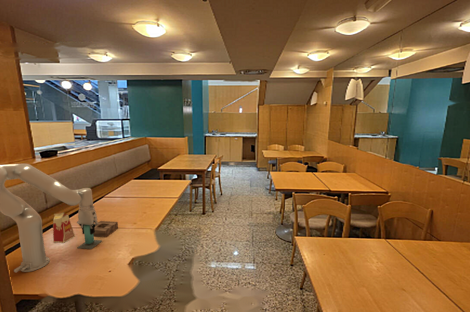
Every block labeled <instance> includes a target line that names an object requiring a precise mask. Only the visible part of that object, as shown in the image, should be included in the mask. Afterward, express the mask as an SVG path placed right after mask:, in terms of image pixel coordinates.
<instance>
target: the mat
mask: <svg viewBox="0 0 470 312" xmlns="http://www.w3.org/2000/svg"><path fill="white" fill-rule="evenodd" d="M100 243H103V240H102V239H94V242H93V243H91V244H85V241H84V242H83V243H81V244H80V245H79V246H77V247H76V248H77V249H80V250H81V249H82V250H93V249H94V248H95V247H96V246H98V245H99V244H100Z"/></svg>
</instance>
